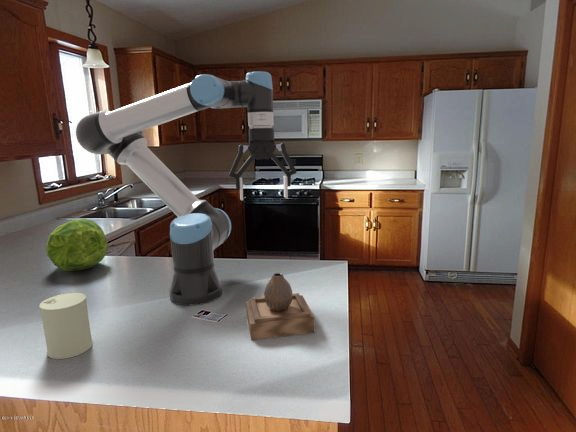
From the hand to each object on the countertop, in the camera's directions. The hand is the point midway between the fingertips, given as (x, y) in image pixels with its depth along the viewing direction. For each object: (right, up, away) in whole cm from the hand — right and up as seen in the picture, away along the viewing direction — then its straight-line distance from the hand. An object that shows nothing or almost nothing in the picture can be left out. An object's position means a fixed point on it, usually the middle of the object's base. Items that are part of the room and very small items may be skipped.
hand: (264, 198), depth 123 cm
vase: (+5, -28, -24) cm, 37 cm away
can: (-42, -35, -32) cm, 64 cm away
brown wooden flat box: (+5, -32, -23) cm, 40 cm away
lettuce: (-69, -25, +23) cm, 77 cm away
